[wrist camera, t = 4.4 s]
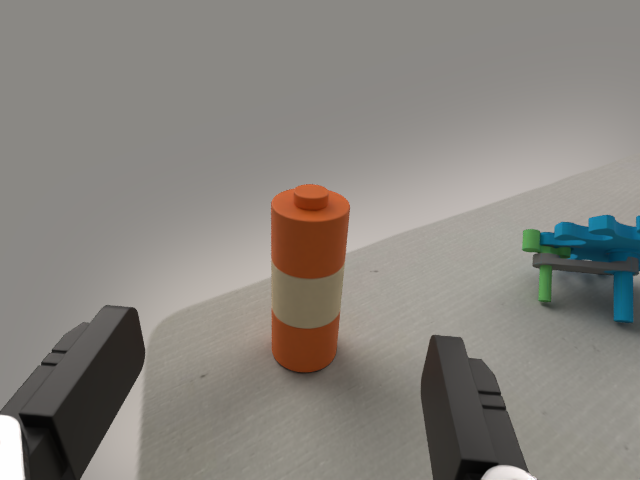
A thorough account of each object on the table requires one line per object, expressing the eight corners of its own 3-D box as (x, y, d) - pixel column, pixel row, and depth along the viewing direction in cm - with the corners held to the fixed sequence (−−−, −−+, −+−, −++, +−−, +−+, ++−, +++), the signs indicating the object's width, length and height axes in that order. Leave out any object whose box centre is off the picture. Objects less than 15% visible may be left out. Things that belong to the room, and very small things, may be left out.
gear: (679, 258, 32) (766, 208, 23) (682, 340, 31) (777, 322, 22) (514, 245, 36) (534, 198, 27) (510, 318, 34) (529, 295, 25)
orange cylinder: (268, 371, 23) (267, 206, 18) (274, 325, 26) (274, 173, 22) (337, 374, 23) (353, 210, 19) (335, 327, 27) (348, 177, 22)
